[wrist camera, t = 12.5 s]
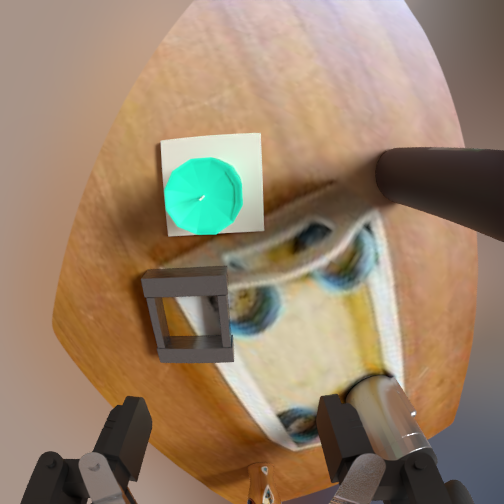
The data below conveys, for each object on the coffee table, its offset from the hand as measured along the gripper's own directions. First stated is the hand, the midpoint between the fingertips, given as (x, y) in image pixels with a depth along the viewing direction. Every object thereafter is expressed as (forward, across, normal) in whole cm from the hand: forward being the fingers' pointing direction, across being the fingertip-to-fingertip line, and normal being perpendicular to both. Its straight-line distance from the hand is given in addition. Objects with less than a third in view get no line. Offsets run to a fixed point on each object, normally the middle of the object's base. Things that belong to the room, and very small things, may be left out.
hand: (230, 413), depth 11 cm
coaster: (+24, +2, -9) cm, 25 cm away
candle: (+23, +2, -8) cm, 24 cm away
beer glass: (+25, -2, +50) cm, 56 cm away
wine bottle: (+24, -20, -10) cm, 33 cm away
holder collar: (+24, +6, +7) cm, 26 cm away
